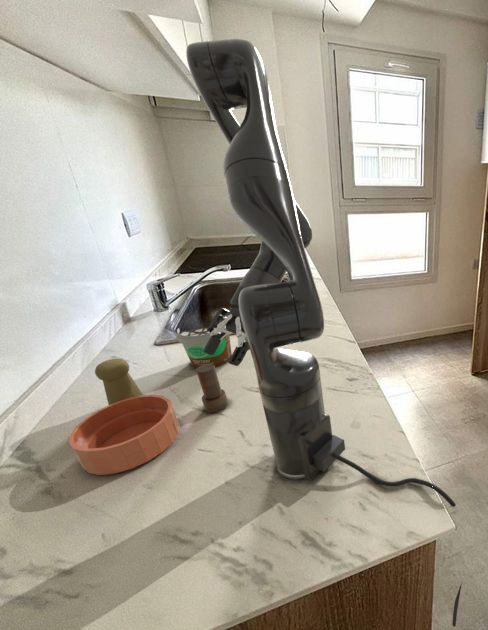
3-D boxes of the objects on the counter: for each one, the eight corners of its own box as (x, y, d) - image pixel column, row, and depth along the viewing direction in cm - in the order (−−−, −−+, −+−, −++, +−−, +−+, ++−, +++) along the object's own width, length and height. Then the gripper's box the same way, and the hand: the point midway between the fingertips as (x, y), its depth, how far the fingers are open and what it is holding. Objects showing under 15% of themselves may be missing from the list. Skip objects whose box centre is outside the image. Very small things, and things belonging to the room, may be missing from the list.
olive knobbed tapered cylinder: (104, 408, 71) (83, 365, 66) (137, 392, 76) (119, 351, 71) (118, 418, 68) (97, 373, 64) (151, 401, 73) (134, 359, 68)
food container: (178, 374, 82) (165, 339, 78) (186, 361, 88) (175, 328, 83) (232, 368, 85) (223, 334, 81) (237, 355, 91) (229, 323, 86)
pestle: (232, 403, 73) (222, 365, 69) (213, 415, 69) (200, 376, 65) (220, 397, 75) (209, 359, 71) (200, 408, 71) (187, 370, 67)
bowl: (196, 433, 65) (187, 409, 62) (106, 490, 53) (92, 464, 51) (156, 409, 71) (147, 386, 68) (68, 456, 59) (53, 431, 57)
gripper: (222, 279, 75) (184, 345, 70) (266, 290, 69) (226, 364, 64) (248, 294, 81) (214, 355, 77) (290, 305, 75) (255, 372, 71)
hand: (220, 359), depth 70 cm, fingers open, 8 cm apart
